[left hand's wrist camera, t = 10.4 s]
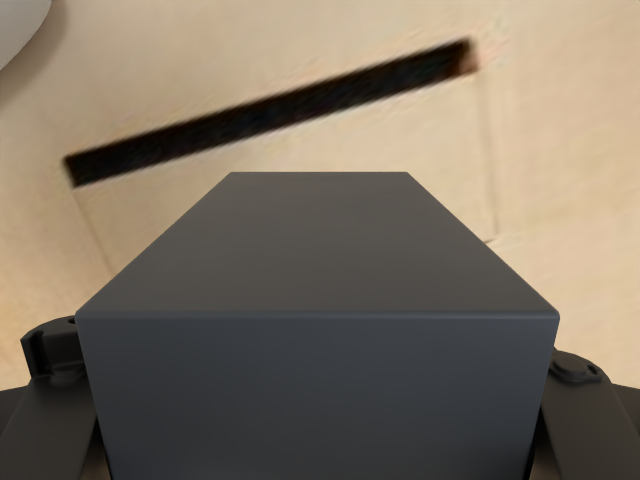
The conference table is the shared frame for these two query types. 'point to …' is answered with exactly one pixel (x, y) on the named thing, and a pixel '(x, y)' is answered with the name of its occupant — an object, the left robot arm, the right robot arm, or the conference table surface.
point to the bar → (317, 340)
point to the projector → (19, 25)
